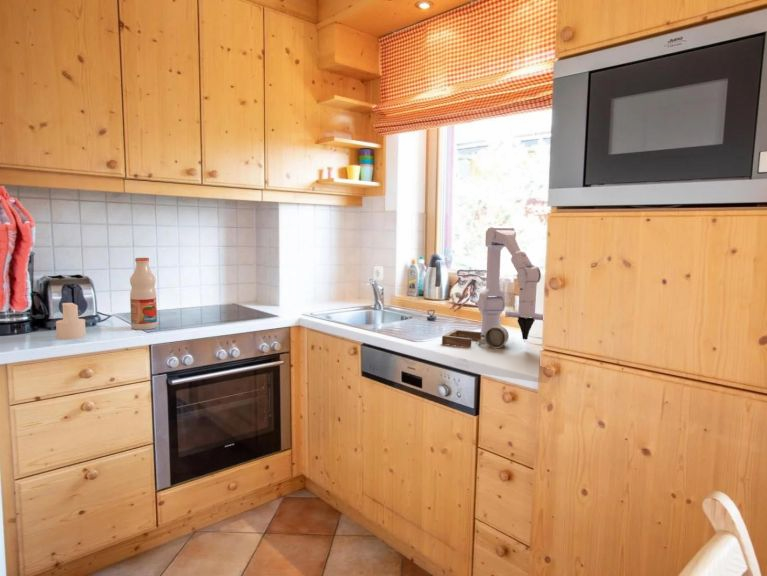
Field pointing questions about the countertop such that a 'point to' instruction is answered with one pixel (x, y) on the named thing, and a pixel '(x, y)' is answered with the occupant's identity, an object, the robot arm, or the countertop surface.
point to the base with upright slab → (70, 323)
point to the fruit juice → (143, 297)
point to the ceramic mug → (495, 337)
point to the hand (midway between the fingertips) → (525, 338)
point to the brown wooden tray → (460, 337)
